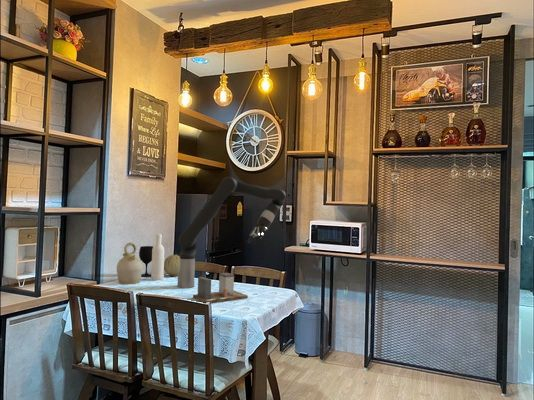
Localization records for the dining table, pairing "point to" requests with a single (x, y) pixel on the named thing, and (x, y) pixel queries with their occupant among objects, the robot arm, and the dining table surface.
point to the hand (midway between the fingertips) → (251, 242)
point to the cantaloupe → (172, 265)
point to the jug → (129, 267)
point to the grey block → (226, 283)
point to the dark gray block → (204, 288)
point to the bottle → (158, 259)
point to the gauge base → (222, 297)
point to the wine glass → (146, 257)
